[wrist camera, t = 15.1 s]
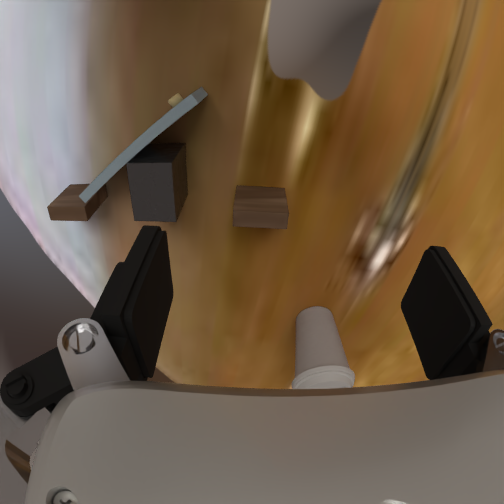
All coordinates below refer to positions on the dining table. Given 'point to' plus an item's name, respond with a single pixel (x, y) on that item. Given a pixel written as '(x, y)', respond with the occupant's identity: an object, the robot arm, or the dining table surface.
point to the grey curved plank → (145, 139)
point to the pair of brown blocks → (244, 212)
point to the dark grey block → (158, 181)
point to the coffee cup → (320, 352)
